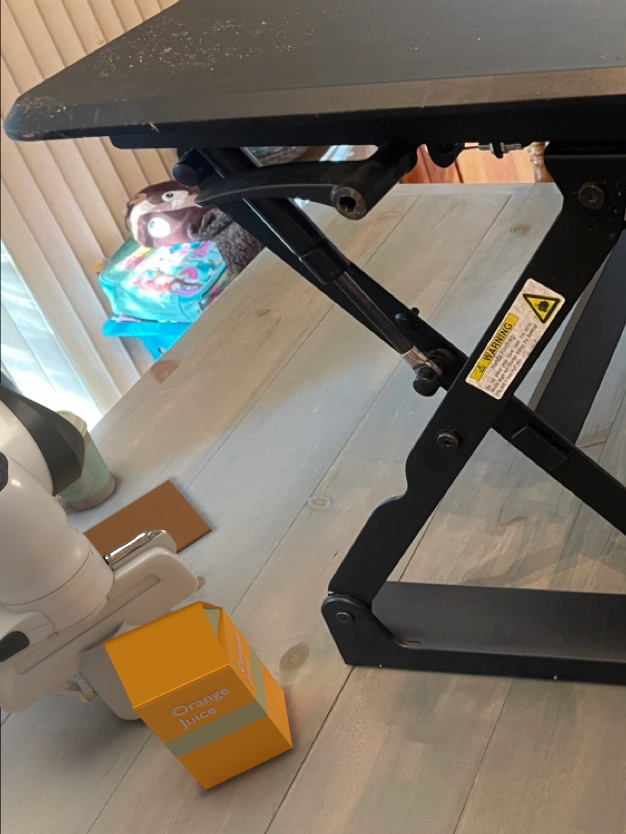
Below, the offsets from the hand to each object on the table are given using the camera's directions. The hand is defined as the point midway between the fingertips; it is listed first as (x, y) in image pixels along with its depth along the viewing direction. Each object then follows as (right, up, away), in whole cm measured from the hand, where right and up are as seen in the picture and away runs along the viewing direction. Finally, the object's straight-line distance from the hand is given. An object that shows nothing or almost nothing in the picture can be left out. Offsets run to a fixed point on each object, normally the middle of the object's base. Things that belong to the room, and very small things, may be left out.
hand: (129, 668), depth 112 cm
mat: (-11, +9, +22) cm, 27 cm away
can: (+1, -4, +3) cm, 5 cm away
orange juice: (+14, -6, -3) cm, 16 cm away
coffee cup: (-22, +14, +31) cm, 40 cm away
